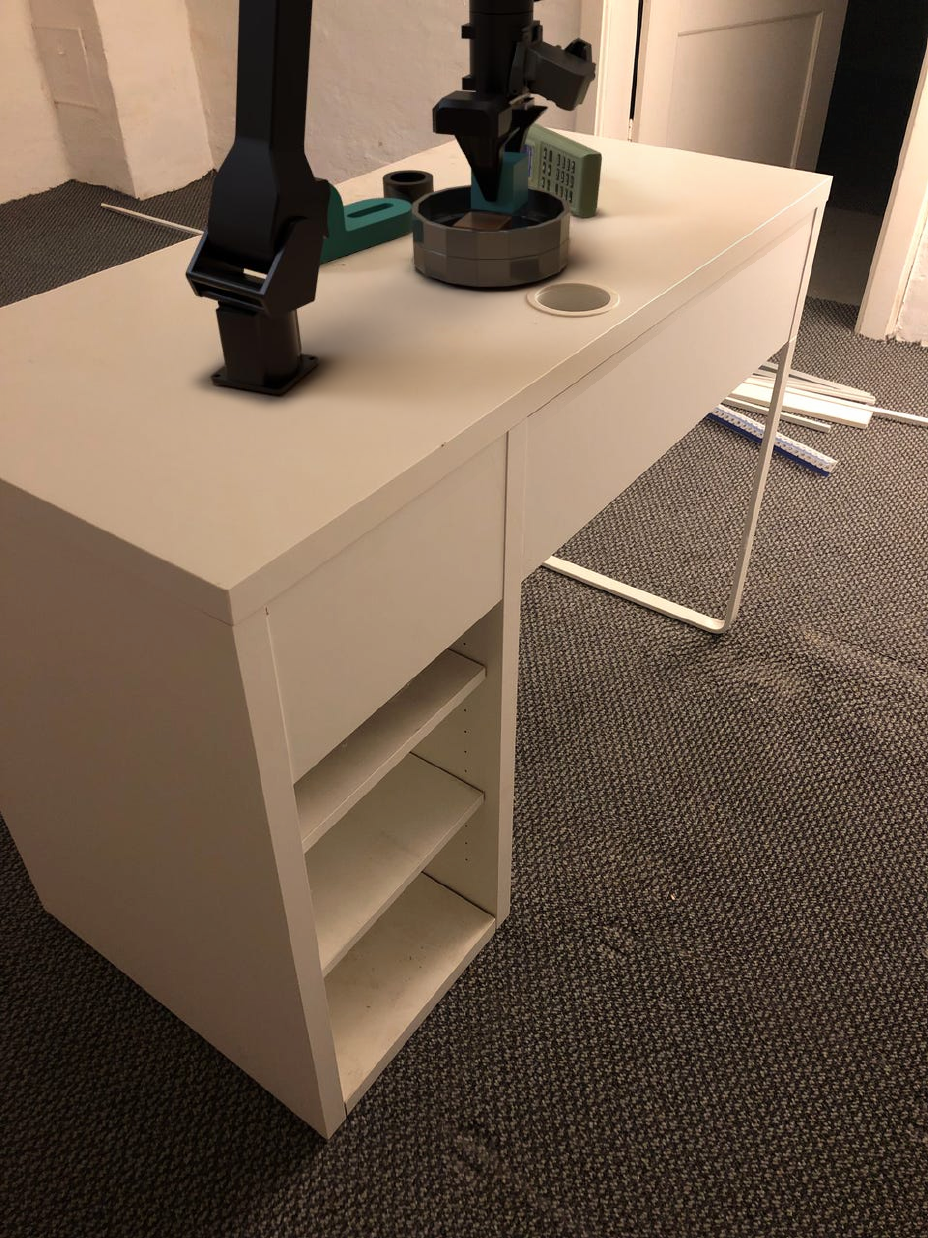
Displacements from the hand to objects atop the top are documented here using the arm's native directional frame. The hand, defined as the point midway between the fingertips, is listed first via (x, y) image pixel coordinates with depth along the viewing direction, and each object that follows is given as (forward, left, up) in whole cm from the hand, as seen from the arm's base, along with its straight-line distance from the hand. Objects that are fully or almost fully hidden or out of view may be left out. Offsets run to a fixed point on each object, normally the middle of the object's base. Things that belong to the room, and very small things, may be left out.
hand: (499, 194), depth 98 cm
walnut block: (-5, 0, -5) cm, 7 cm away
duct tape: (+13, +16, -6) cm, 21 cm away
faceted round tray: (-2, 0, -6) cm, 6 cm away
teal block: (0, 0, -1) cm, 1 cm away
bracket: (-2, +17, -6) cm, 18 cm away
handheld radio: (+24, +4, -6) cm, 25 cm away
